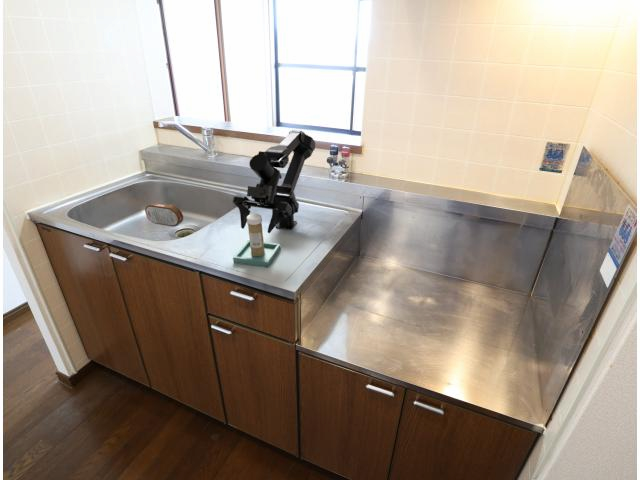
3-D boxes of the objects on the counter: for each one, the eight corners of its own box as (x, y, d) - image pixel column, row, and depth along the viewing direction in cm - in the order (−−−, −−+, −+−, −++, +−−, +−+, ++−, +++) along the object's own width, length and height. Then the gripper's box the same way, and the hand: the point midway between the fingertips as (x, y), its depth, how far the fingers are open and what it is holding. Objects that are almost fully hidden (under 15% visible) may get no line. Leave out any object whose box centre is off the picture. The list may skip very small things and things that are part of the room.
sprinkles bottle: (267, 250, 122) (263, 213, 116) (261, 258, 118) (257, 220, 112) (254, 249, 123) (250, 212, 117) (248, 256, 119) (244, 218, 113)
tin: (185, 225, 141) (181, 204, 137) (180, 228, 138) (176, 208, 134) (152, 220, 145) (147, 200, 141) (146, 223, 142) (141, 203, 138)
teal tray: (248, 245, 127) (248, 240, 126) (280, 249, 125) (280, 244, 124) (233, 262, 117) (232, 257, 116) (268, 267, 115) (267, 262, 114)
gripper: (231, 170, 115) (216, 217, 112) (286, 177, 110) (273, 226, 106) (246, 185, 126) (233, 229, 122) (297, 192, 120) (285, 238, 117)
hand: (255, 230), depth 117 cm, fingers open, 9 cm apart
